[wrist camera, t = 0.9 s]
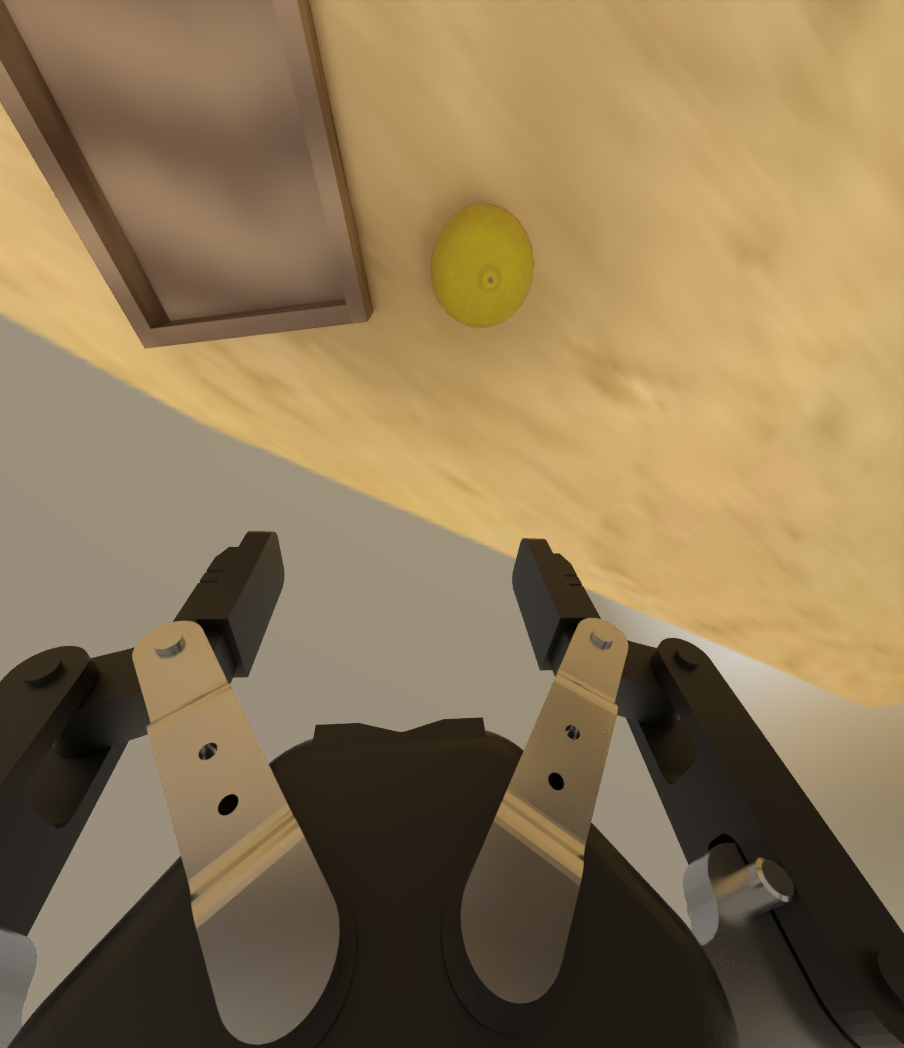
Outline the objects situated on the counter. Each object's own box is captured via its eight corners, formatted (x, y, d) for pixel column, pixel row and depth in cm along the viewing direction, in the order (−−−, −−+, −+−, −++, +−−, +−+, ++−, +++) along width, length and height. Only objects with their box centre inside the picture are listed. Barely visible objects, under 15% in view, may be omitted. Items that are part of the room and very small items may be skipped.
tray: (-107, -183, 14) (-213, -261, 12) (258, -244, 14) (223, -337, 11) (170, 336, 26) (144, 348, 23) (373, 311, 25) (367, 321, 23)
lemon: (420, 293, 25) (417, 320, 18) (448, 187, 21) (455, 176, 15) (496, 324, 26) (517, 358, 20) (534, 229, 23) (572, 234, 17)
